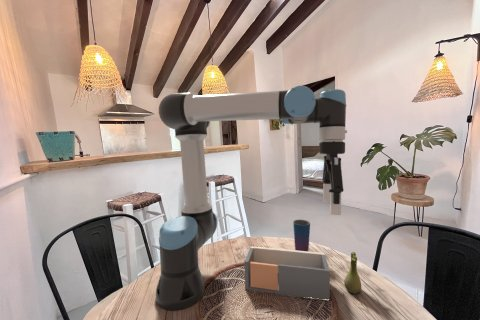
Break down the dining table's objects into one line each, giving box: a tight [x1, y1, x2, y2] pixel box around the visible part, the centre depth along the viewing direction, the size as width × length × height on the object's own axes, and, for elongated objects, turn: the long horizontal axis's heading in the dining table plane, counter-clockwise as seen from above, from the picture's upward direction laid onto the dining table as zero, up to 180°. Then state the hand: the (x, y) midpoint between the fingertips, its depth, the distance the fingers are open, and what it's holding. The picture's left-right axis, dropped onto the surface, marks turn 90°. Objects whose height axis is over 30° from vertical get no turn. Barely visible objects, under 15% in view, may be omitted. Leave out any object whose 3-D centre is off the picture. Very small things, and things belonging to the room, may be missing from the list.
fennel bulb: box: [343, 251, 362, 294], centre depth 68 cm, size 6×5×12 cm
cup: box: [292, 219, 311, 252], centre depth 89 cm, size 7×7×15 cm
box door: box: [250, 262, 278, 291], centre depth 69 cm, size 9×1×8 cm, turn 76°
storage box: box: [244, 246, 331, 299], centre depth 72 cm, size 26×11×10 cm, turn 76°
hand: (330, 207), depth 68 cm, fingers open, 13 cm apart
